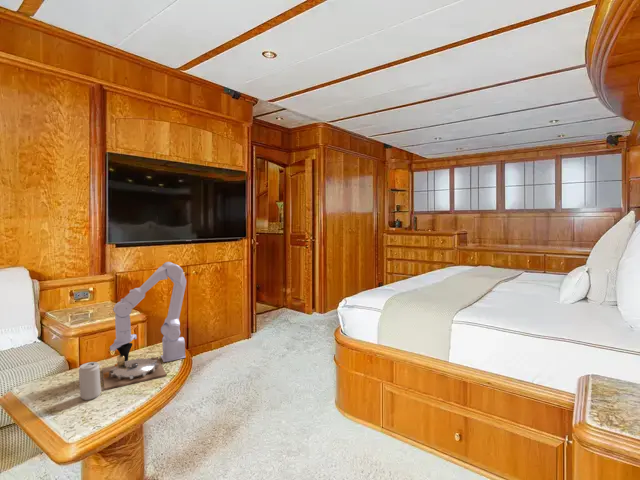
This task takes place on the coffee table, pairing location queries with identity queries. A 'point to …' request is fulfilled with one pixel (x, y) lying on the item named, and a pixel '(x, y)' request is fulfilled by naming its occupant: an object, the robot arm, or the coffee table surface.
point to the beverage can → (89, 380)
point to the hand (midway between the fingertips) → (124, 360)
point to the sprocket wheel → (133, 367)
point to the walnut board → (115, 382)
